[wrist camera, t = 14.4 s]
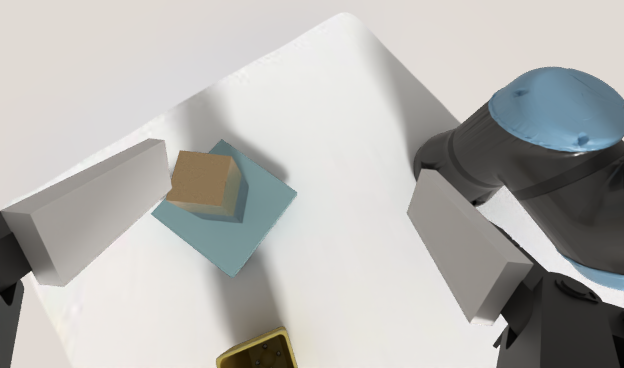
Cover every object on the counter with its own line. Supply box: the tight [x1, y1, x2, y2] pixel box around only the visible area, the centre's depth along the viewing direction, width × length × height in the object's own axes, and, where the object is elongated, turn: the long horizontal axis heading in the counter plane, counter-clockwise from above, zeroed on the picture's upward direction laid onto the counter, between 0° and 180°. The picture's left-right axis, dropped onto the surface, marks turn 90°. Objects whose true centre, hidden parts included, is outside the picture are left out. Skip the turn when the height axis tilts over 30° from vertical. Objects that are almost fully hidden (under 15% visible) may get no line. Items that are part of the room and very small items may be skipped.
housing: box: [166, 151, 249, 224], centre depth 34 cm, size 6×6×12 cm
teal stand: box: [151, 139, 297, 278], centre depth 42 cm, size 16×16×4 cm
